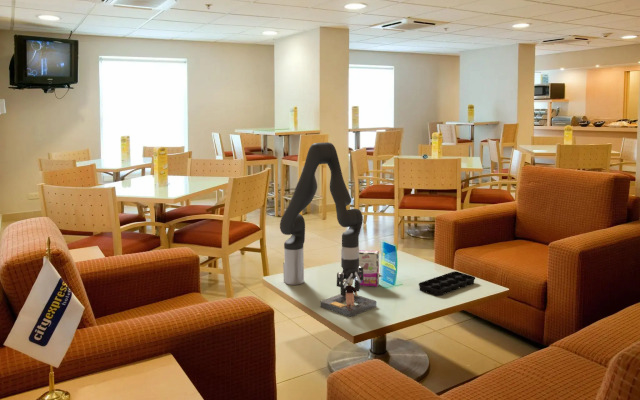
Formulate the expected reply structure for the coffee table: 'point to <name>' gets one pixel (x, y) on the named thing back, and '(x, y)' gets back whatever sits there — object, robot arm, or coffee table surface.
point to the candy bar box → (369, 268)
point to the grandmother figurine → (350, 294)
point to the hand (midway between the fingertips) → (350, 293)
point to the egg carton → (446, 283)
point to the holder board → (337, 307)
